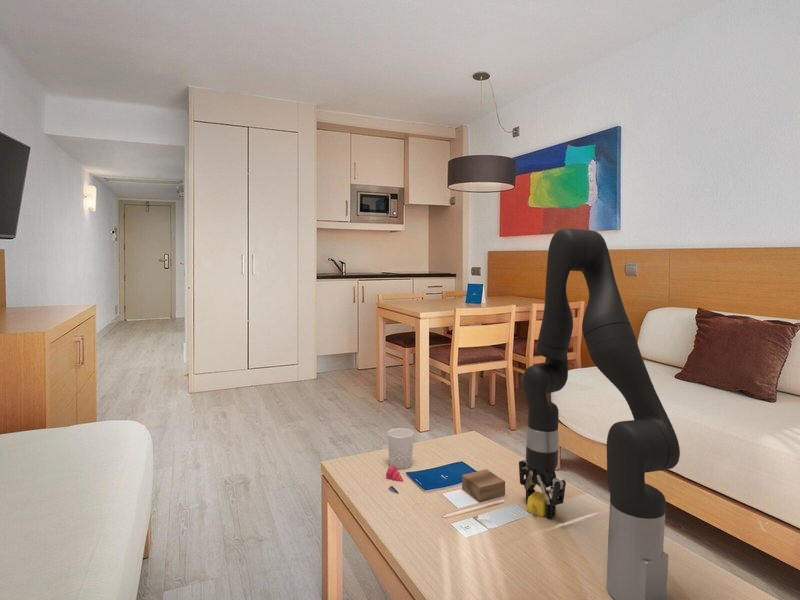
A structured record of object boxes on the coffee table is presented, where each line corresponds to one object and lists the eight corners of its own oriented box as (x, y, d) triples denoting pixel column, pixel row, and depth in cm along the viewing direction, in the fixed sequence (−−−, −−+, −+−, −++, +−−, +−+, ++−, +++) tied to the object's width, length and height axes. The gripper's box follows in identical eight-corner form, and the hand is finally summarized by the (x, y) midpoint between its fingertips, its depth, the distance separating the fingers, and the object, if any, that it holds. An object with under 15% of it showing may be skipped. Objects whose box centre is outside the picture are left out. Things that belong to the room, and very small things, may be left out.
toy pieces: (375, 490, 131) (375, 475, 131) (393, 474, 141) (393, 459, 141) (416, 500, 126) (416, 484, 126) (431, 482, 136) (431, 467, 136)
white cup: (407, 457, 152) (407, 426, 151) (417, 467, 145) (417, 435, 144) (384, 461, 149) (384, 429, 148) (392, 471, 142) (392, 438, 141)
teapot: (545, 526, 114) (545, 505, 113) (522, 517, 117) (523, 497, 117) (558, 512, 120) (559, 492, 119) (536, 504, 123) (537, 485, 123)
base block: (504, 496, 126) (505, 481, 126) (479, 502, 122) (479, 487, 122) (486, 483, 133) (486, 469, 133) (462, 489, 130) (462, 474, 129)
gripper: (576, 453, 112) (573, 521, 114) (533, 432, 125) (531, 494, 127) (552, 459, 109) (549, 529, 111) (510, 437, 122) (508, 500, 123)
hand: (539, 510), depth 119 cm, fingers closed on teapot, 6 cm apart
